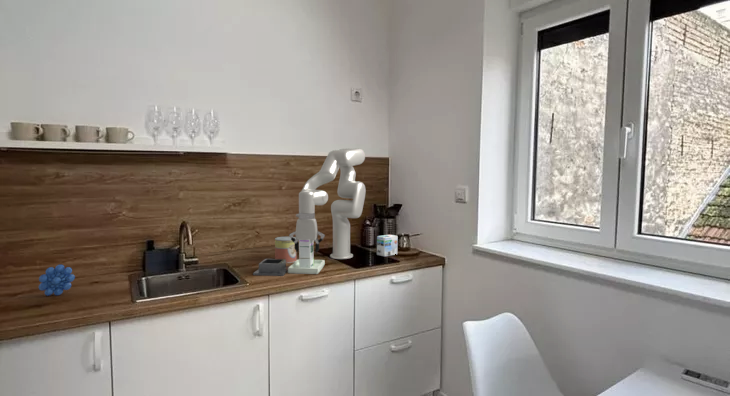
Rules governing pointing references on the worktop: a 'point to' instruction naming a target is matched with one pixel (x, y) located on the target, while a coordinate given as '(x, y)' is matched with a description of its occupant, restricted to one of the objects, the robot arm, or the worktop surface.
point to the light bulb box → (387, 245)
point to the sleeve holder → (272, 267)
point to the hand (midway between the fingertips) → (307, 251)
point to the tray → (314, 270)
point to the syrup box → (306, 254)
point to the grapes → (56, 280)
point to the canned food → (285, 249)
